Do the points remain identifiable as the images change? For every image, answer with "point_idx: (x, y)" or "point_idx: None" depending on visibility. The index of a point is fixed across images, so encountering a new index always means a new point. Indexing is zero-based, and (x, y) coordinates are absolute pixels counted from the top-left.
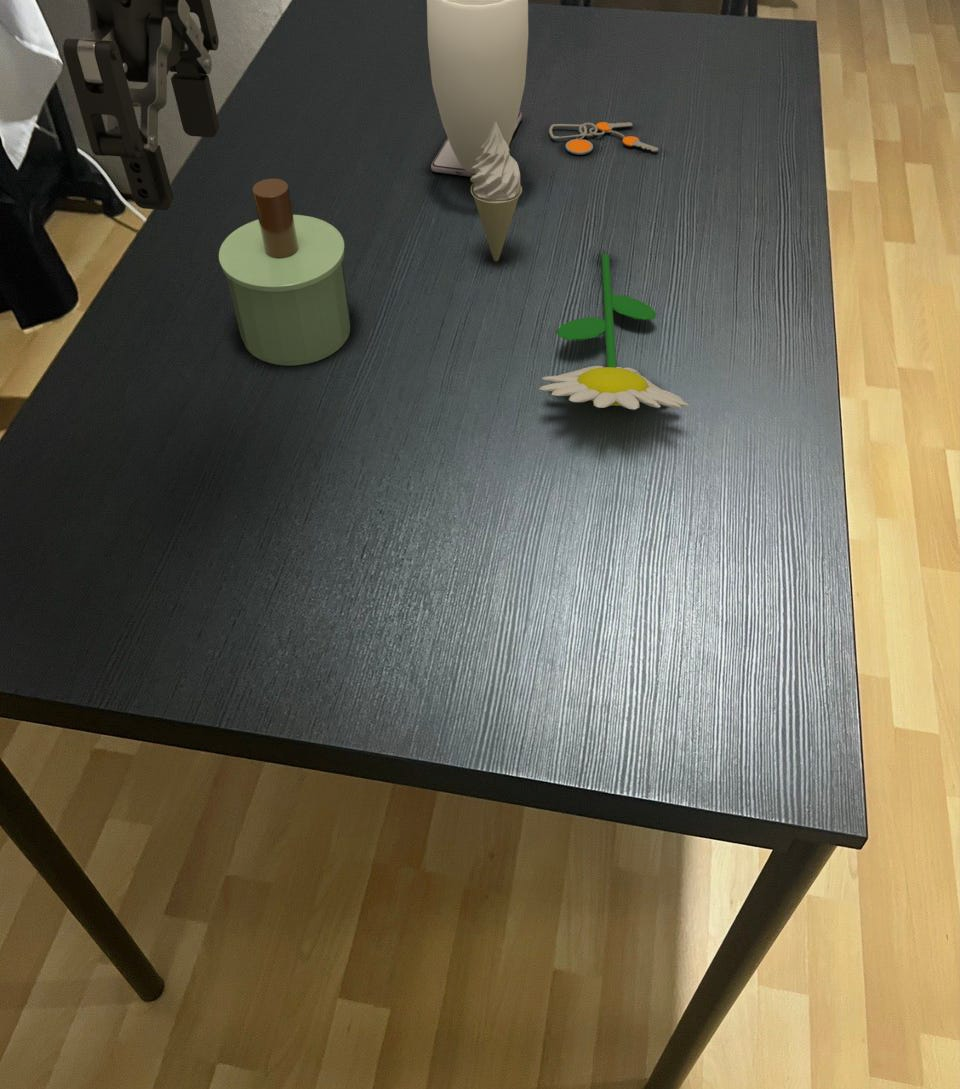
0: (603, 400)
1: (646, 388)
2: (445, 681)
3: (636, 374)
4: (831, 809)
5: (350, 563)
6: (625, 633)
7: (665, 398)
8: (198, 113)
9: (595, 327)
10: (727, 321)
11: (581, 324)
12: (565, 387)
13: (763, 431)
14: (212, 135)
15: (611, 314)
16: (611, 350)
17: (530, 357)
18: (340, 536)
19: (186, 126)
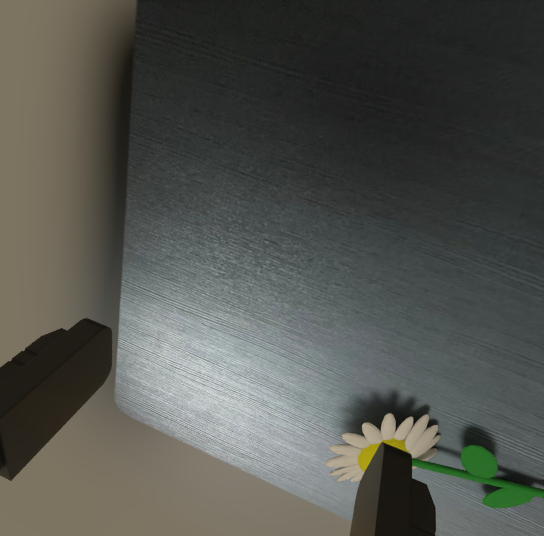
0: (337, 451)
1: None
2: (168, 274)
3: None
4: (120, 405)
5: (260, 230)
6: (202, 370)
7: (347, 478)
8: (361, 521)
9: (475, 470)
10: (477, 531)
11: (482, 464)
12: (372, 433)
13: (351, 492)
14: (360, 482)
15: (493, 485)
16: (431, 469)
17: (480, 408)
18: (287, 226)
19: (379, 461)
